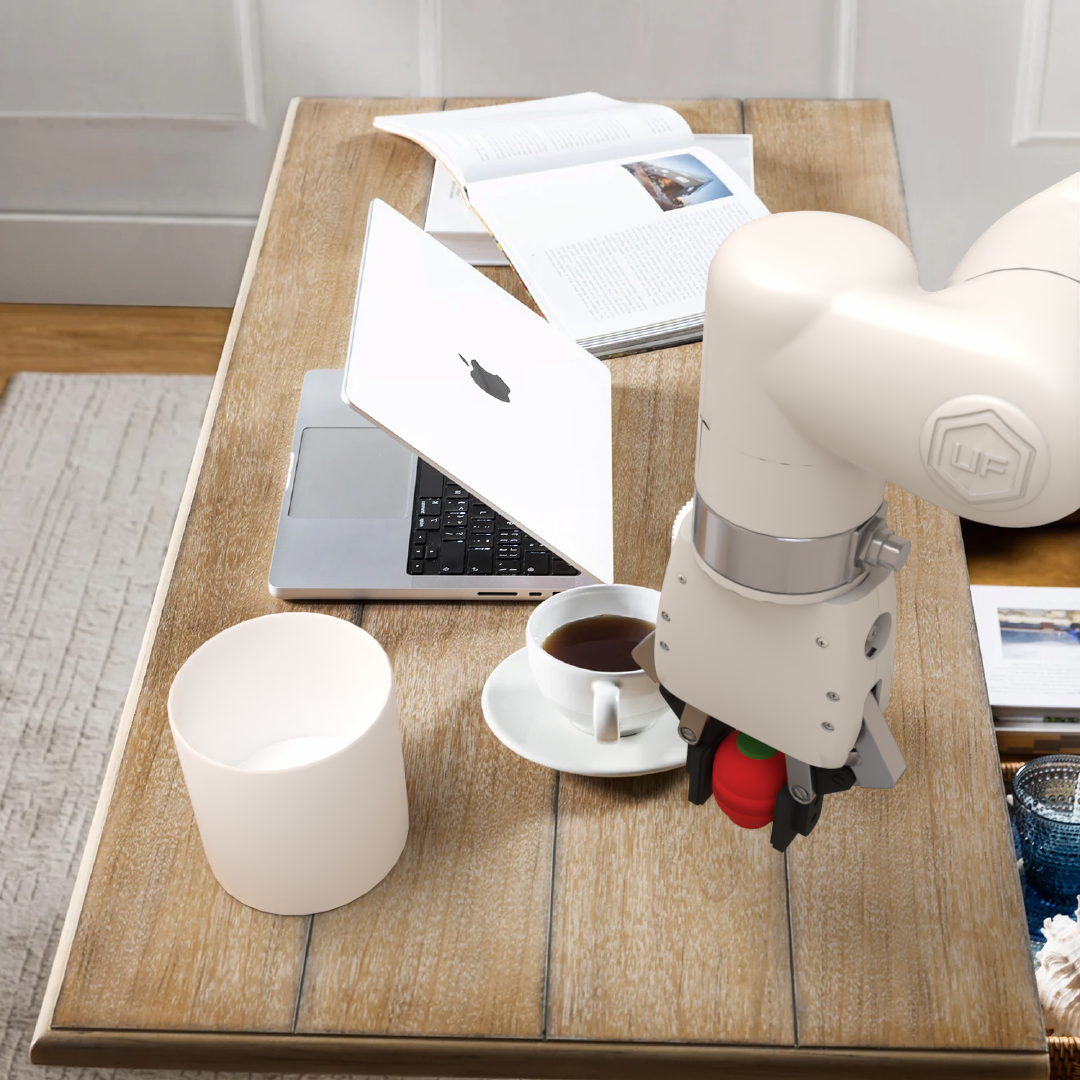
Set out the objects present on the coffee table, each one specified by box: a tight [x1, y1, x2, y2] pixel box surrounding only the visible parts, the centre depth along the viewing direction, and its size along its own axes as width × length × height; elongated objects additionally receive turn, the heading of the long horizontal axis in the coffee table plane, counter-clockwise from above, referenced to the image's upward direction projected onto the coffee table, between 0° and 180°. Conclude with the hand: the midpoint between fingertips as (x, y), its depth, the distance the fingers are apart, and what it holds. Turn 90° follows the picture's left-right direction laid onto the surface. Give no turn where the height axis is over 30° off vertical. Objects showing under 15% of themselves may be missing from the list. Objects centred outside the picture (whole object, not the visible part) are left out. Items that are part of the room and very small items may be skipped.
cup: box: [166, 611, 410, 916], centre depth 70 cm, size 12×12×12 cm
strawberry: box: [712, 729, 788, 830], centre depth 62 cm, size 4×4×5 cm
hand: (750, 806), depth 64 cm, fingers closed on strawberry, 4 cm apart
